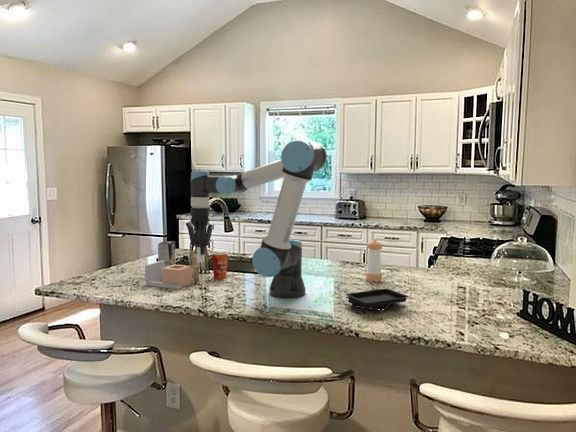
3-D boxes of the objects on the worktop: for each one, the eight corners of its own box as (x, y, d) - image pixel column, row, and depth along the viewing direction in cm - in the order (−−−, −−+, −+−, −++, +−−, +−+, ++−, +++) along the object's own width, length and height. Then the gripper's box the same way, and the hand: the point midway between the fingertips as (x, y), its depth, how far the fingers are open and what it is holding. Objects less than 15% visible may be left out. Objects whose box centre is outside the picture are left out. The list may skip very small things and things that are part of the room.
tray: (354, 293, 200) (354, 281, 199) (410, 298, 193) (411, 286, 192) (340, 314, 171) (340, 300, 171) (405, 321, 164) (406, 306, 164)
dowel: (200, 280, 216) (200, 250, 214) (196, 282, 213) (196, 251, 211) (194, 280, 217) (194, 250, 216) (190, 281, 214) (190, 251, 213)
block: (191, 283, 209) (191, 266, 208) (180, 288, 201) (179, 270, 200) (174, 281, 213) (174, 264, 212) (162, 286, 204) (162, 268, 203)
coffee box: (171, 277, 227) (170, 243, 225) (158, 276, 227) (157, 243, 225) (176, 272, 236) (175, 240, 234) (163, 272, 236) (162, 240, 234)
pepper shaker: (380, 278, 227) (382, 239, 225) (382, 282, 219) (383, 241, 217) (365, 278, 227) (366, 238, 225) (366, 281, 220) (367, 241, 218)
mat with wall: (206, 281, 218) (205, 260, 217) (181, 292, 199) (180, 268, 198) (171, 278, 225) (171, 257, 224) (144, 287, 206) (143, 265, 205)
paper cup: (219, 282, 216) (219, 252, 215) (208, 280, 221) (208, 250, 220) (231, 279, 222) (231, 250, 221) (220, 277, 227) (220, 248, 226)
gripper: (218, 207, 200) (217, 261, 202) (191, 205, 205) (191, 259, 207) (208, 208, 193) (208, 265, 196) (181, 206, 198) (182, 262, 200)
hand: (200, 261), depth 201 cm, fingers closed
